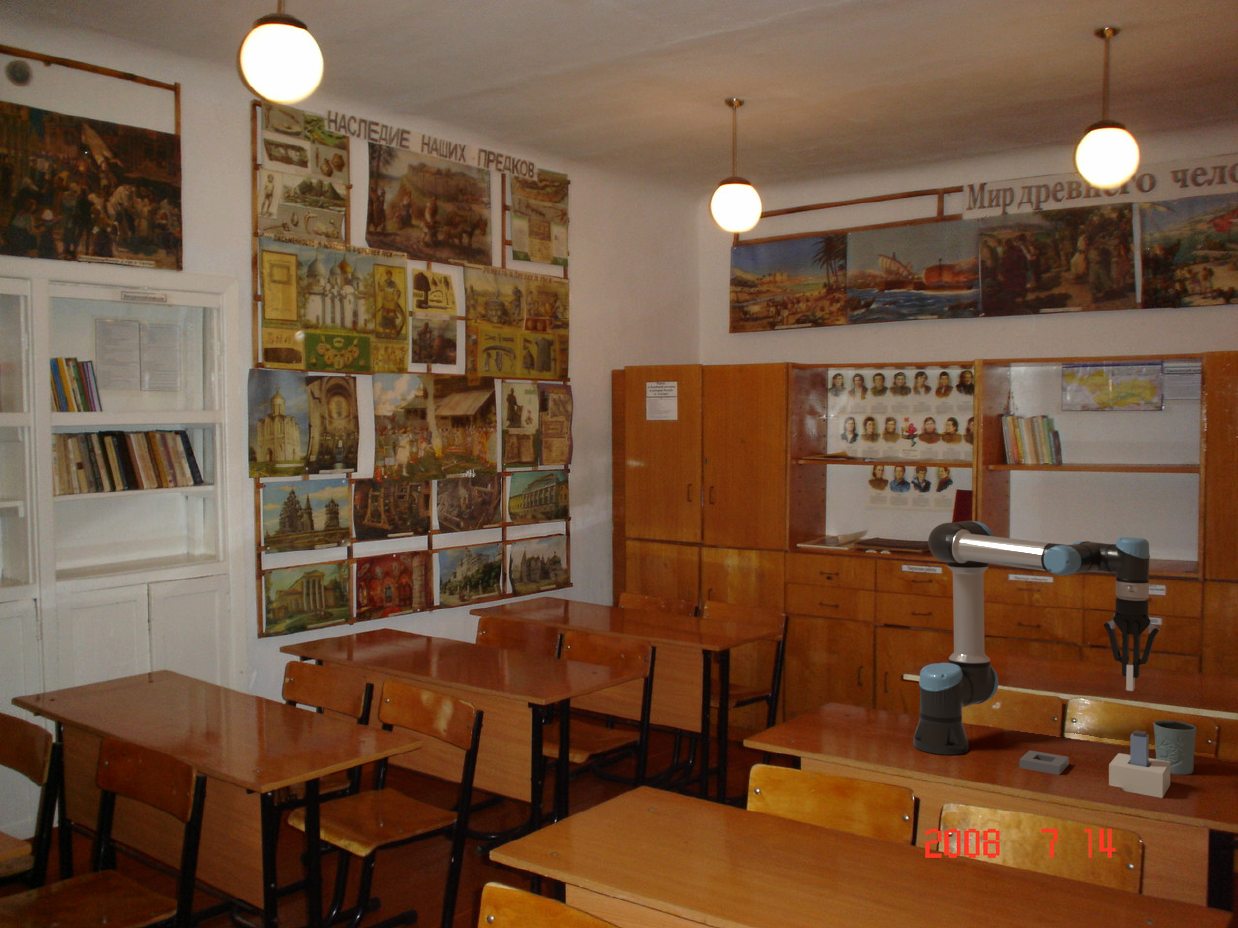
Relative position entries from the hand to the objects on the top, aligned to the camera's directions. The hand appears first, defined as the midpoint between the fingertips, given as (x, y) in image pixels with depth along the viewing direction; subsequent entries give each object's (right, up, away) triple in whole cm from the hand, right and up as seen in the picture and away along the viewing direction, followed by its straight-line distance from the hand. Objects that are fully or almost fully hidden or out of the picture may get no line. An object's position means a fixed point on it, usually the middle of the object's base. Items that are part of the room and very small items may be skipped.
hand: (1130, 689), depth 252 cm
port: (+1, -24, -2) cm, 24 cm away
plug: (+1, -23, -2) cm, 23 cm away
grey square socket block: (-17, -24, +12) cm, 32 cm away
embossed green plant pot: (+18, -24, +11) cm, 32 cm away
